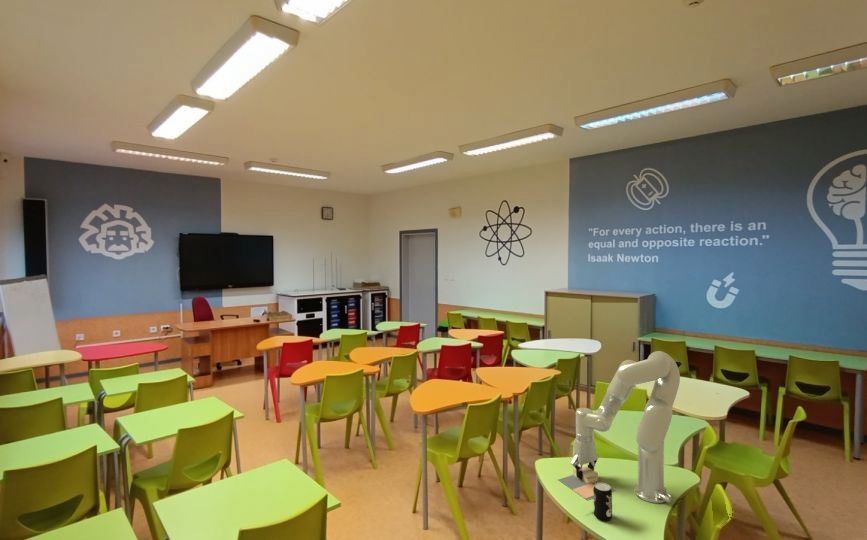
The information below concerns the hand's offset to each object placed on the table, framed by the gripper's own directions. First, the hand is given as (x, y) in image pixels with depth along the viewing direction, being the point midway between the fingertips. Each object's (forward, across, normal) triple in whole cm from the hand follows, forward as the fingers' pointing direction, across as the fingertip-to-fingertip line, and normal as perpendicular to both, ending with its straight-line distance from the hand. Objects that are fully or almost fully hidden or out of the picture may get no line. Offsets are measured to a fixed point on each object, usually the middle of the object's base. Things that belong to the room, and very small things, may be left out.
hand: (585, 476), depth 191 cm
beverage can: (+2, +14, +24) cm, 27 cm away
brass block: (+1, 0, 0) cm, 1 cm away
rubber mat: (+1, +4, +4) cm, 6 cm away
